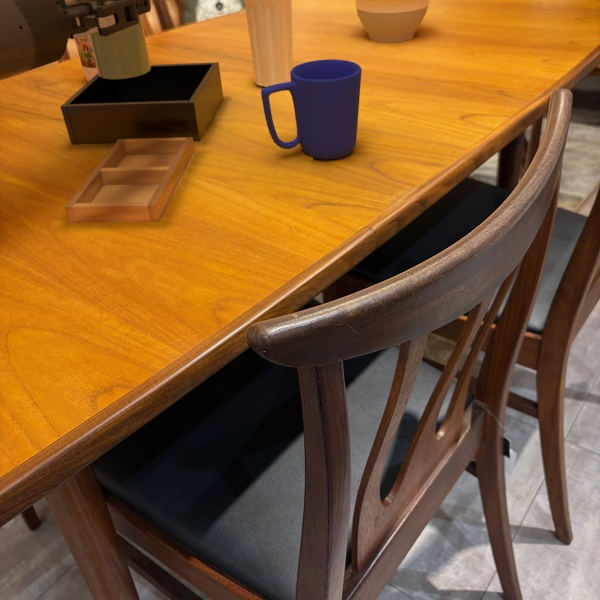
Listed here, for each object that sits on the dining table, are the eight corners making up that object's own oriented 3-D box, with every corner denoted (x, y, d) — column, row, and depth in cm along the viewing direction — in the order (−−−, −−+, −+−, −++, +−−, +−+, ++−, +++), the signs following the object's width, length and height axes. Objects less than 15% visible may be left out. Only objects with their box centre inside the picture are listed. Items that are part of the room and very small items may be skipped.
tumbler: (90, 80, 71) (61, -38, 64) (108, 64, 76) (82, -46, 69) (142, 78, 70) (118, -41, 63) (157, 63, 75) (136, -49, 68)
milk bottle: (96, 71, 111) (65, -55, 99) (137, 71, 110) (110, -57, 98) (78, 85, 105) (42, -48, 93) (121, 85, 103) (90, -50, 92)
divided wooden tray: (68, 226, 64) (62, 206, 63) (121, 156, 79) (116, 139, 77) (161, 224, 63) (156, 205, 62) (197, 154, 78) (194, 137, 76)
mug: (257, 153, 77) (248, 72, 71) (343, 134, 80) (341, 55, 75) (281, 178, 71) (274, 91, 65) (373, 156, 74) (374, 72, 68)
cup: (259, 94, 95) (249, -7, 87) (243, 80, 102) (233, -15, 93) (307, 85, 98) (302, -14, 89) (289, 72, 104) (283, -22, 95)
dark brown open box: (72, 147, 82) (59, 106, 79) (113, 103, 96) (104, 66, 93) (200, 144, 80) (193, 102, 77) (223, 99, 94) (218, 62, 91)
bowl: (450, 35, 117) (454, -15, 112) (386, 52, 110) (388, 0, 105) (394, 22, 128) (396, -24, 123) (333, 36, 121) (332, -11, 116)
